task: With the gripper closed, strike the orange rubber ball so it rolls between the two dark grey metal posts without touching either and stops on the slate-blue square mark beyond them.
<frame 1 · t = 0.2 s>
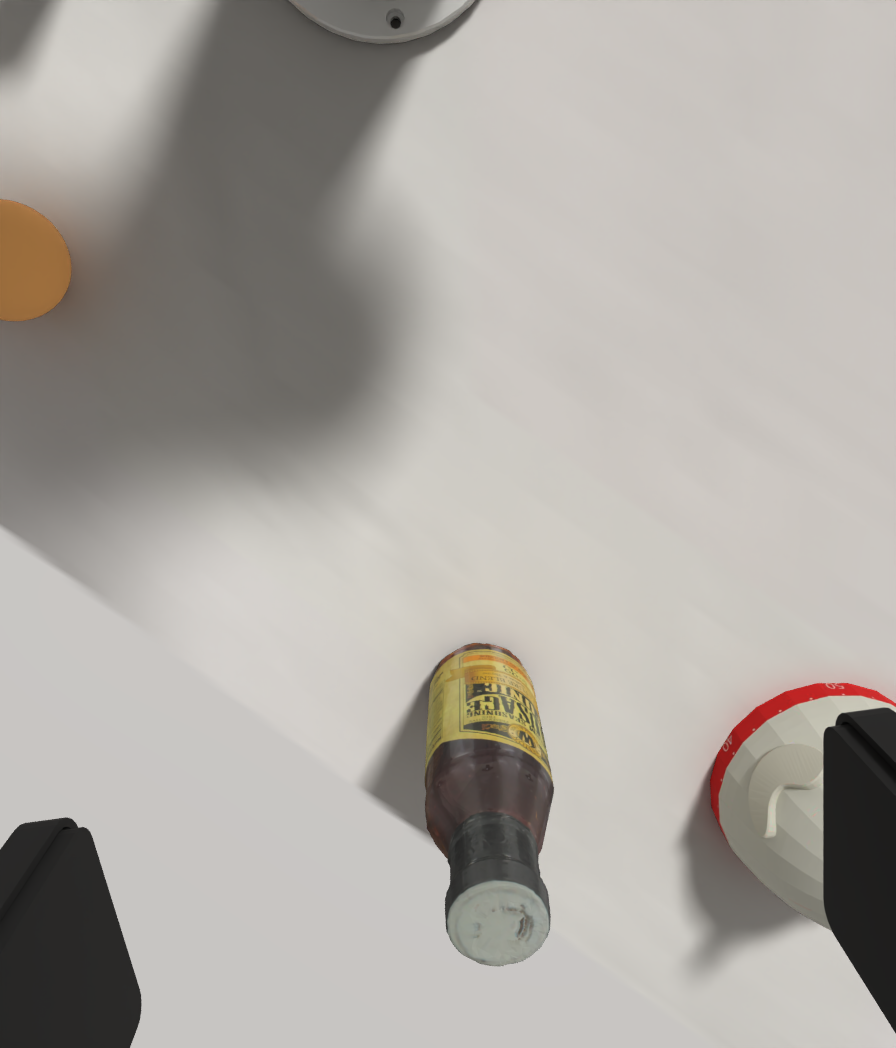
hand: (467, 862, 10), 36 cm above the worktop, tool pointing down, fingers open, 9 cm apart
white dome: (814, 776, 53), on the worktop
sauce bottle: (476, 679, 50), on the worktop
ball: (7, 261, 39), on the worktop
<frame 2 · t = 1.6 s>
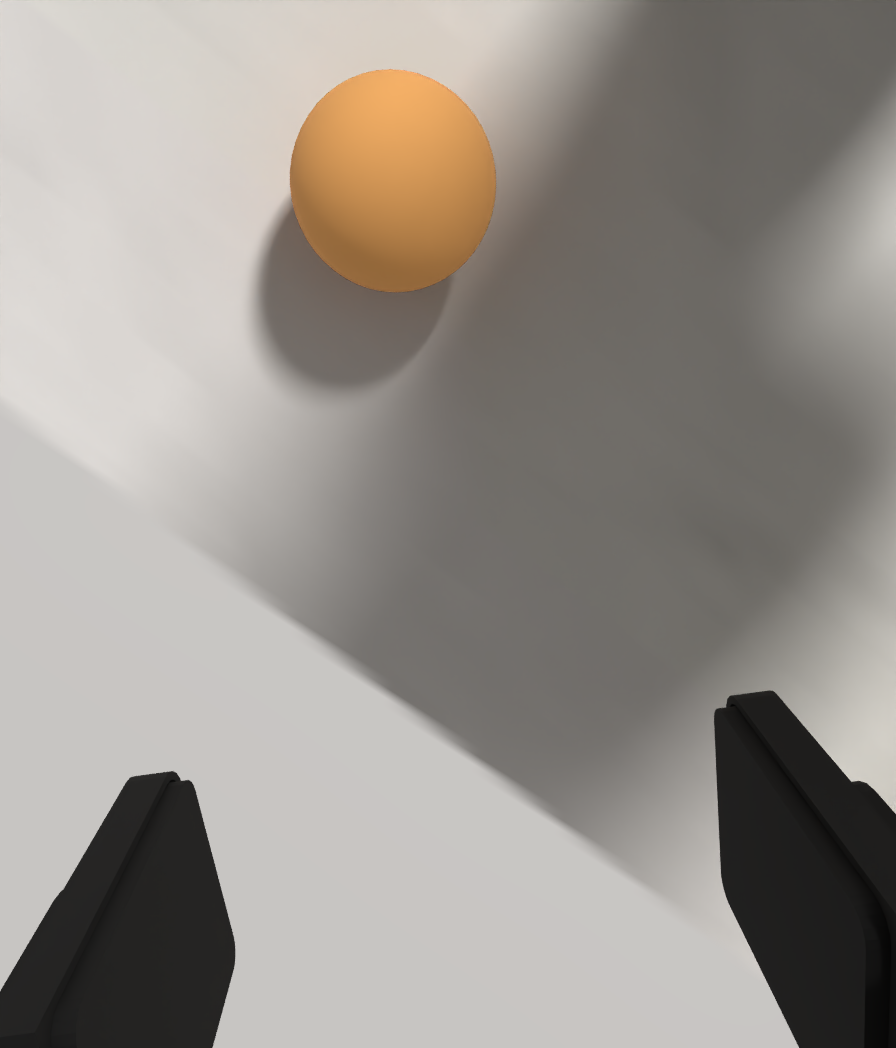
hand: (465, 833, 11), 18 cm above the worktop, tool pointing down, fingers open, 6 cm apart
ball: (393, 186, 22), on the worktop
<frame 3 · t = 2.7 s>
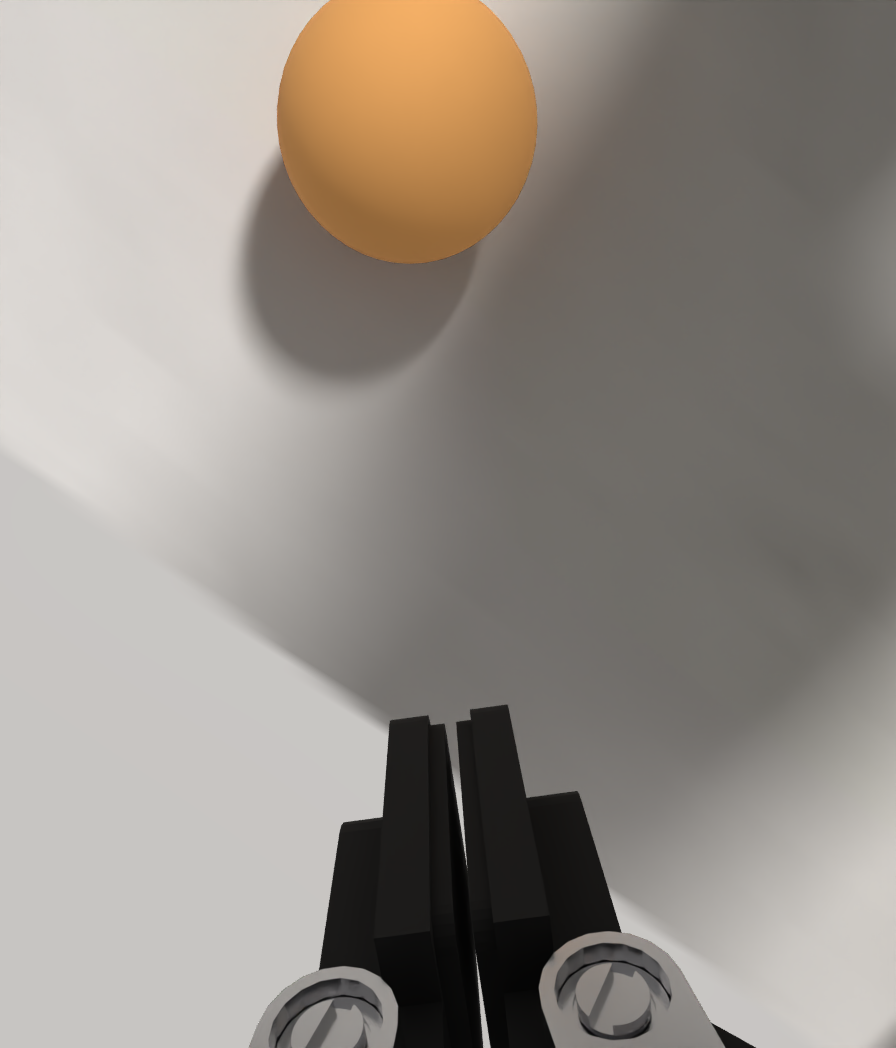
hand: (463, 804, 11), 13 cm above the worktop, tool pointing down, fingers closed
ball: (408, 128, 18), on the worktop
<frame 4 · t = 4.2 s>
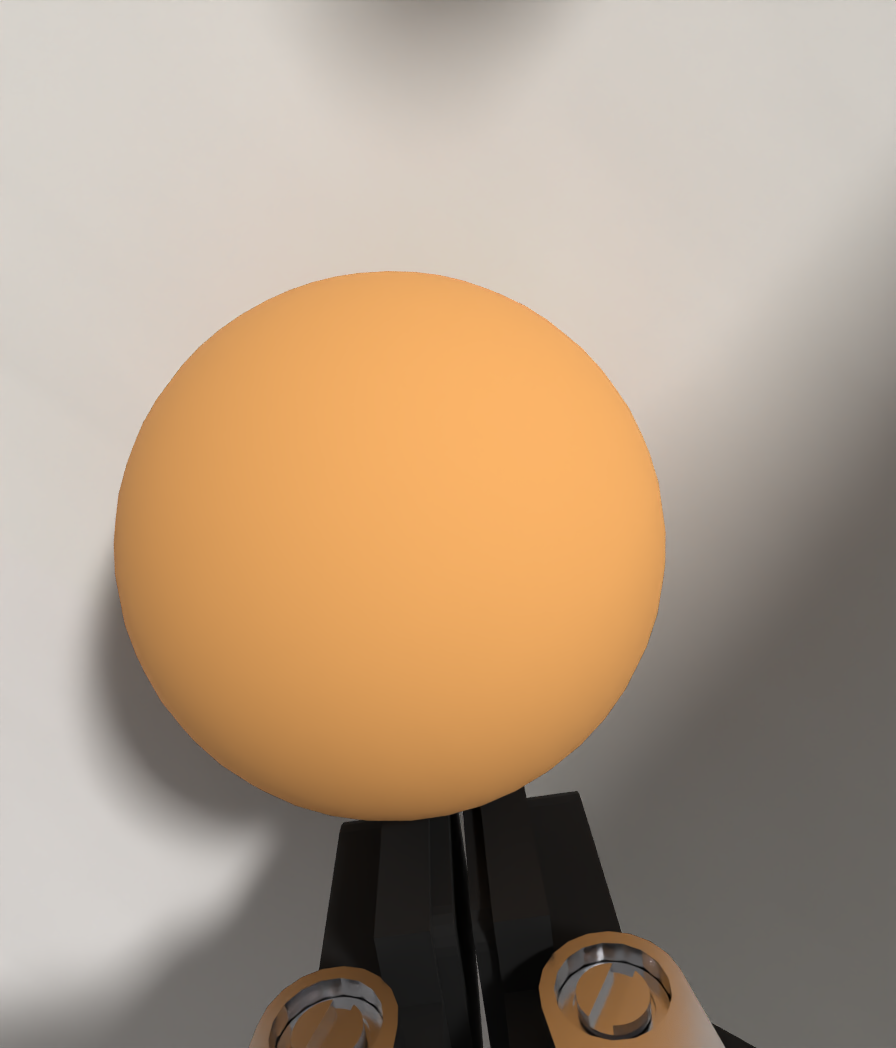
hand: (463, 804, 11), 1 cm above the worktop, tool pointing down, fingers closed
ball: (395, 544, 9), on the worktop
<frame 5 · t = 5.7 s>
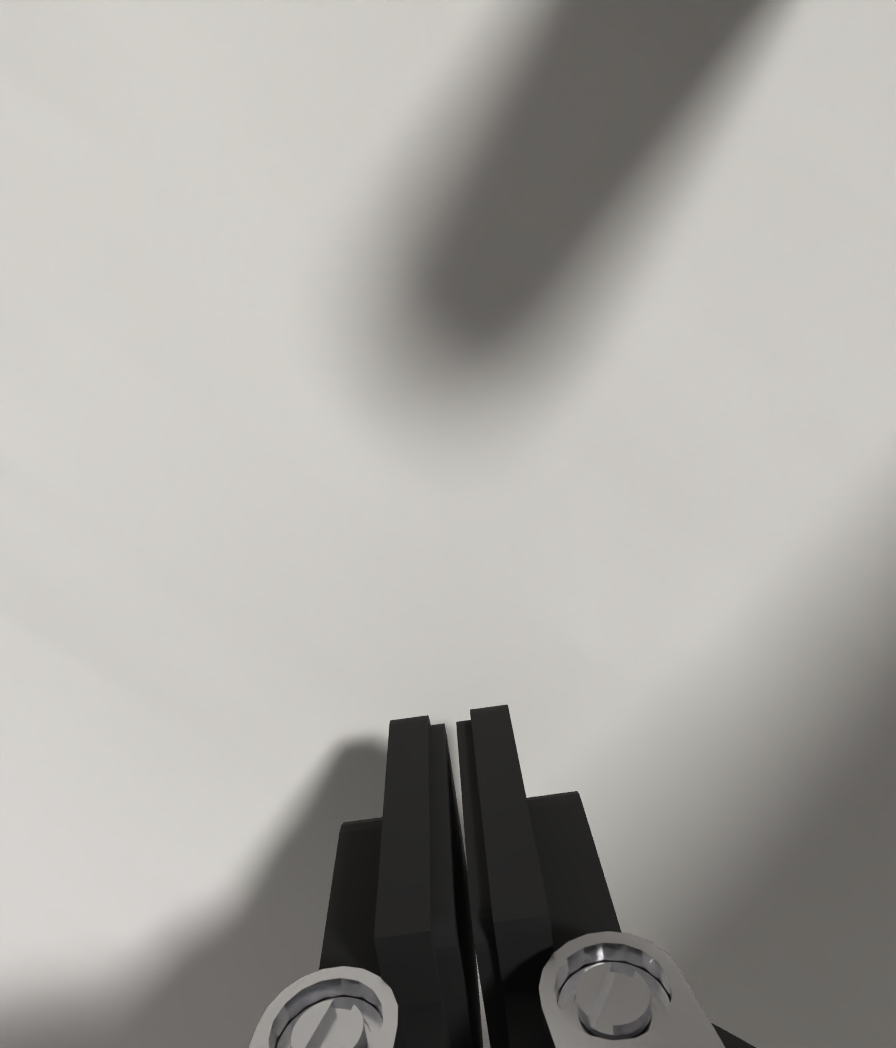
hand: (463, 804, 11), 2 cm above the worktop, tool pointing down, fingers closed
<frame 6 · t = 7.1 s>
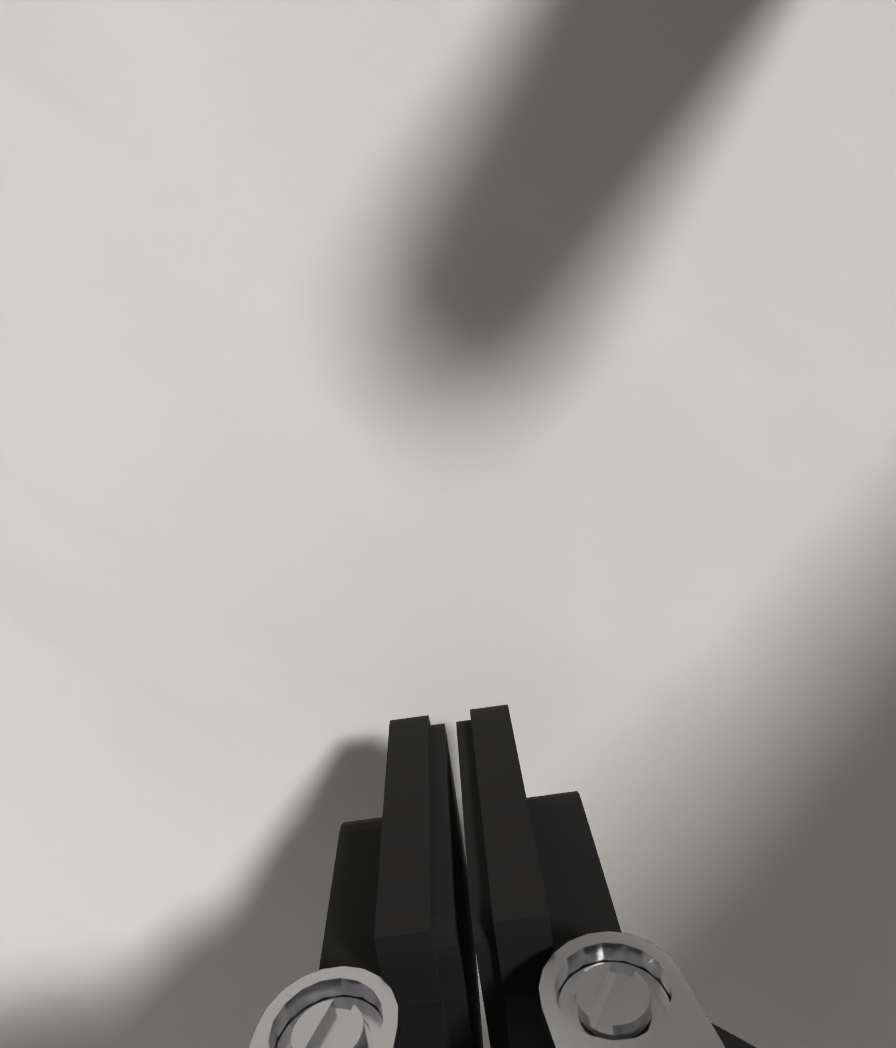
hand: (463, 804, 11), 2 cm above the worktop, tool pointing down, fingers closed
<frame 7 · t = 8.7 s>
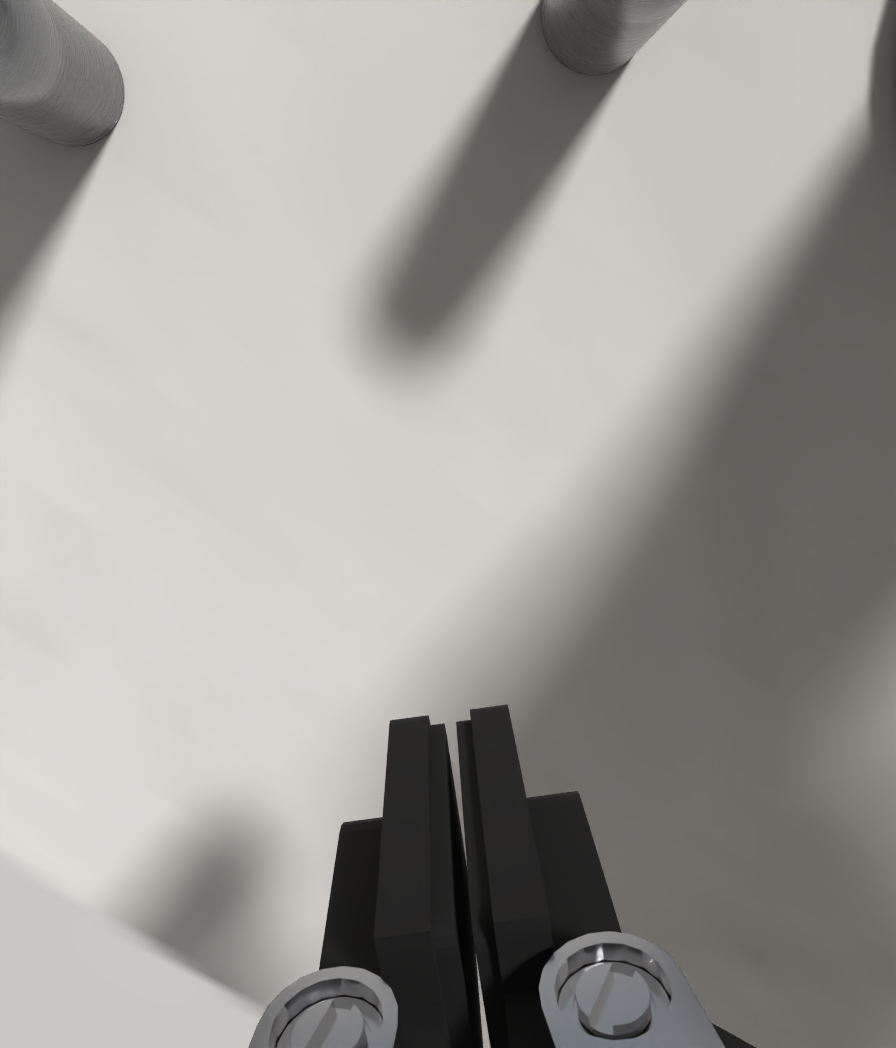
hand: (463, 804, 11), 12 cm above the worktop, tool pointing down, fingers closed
base side post: (595, 15, 20), on the worktop
edge side post: (68, 86, 19), on the worktop
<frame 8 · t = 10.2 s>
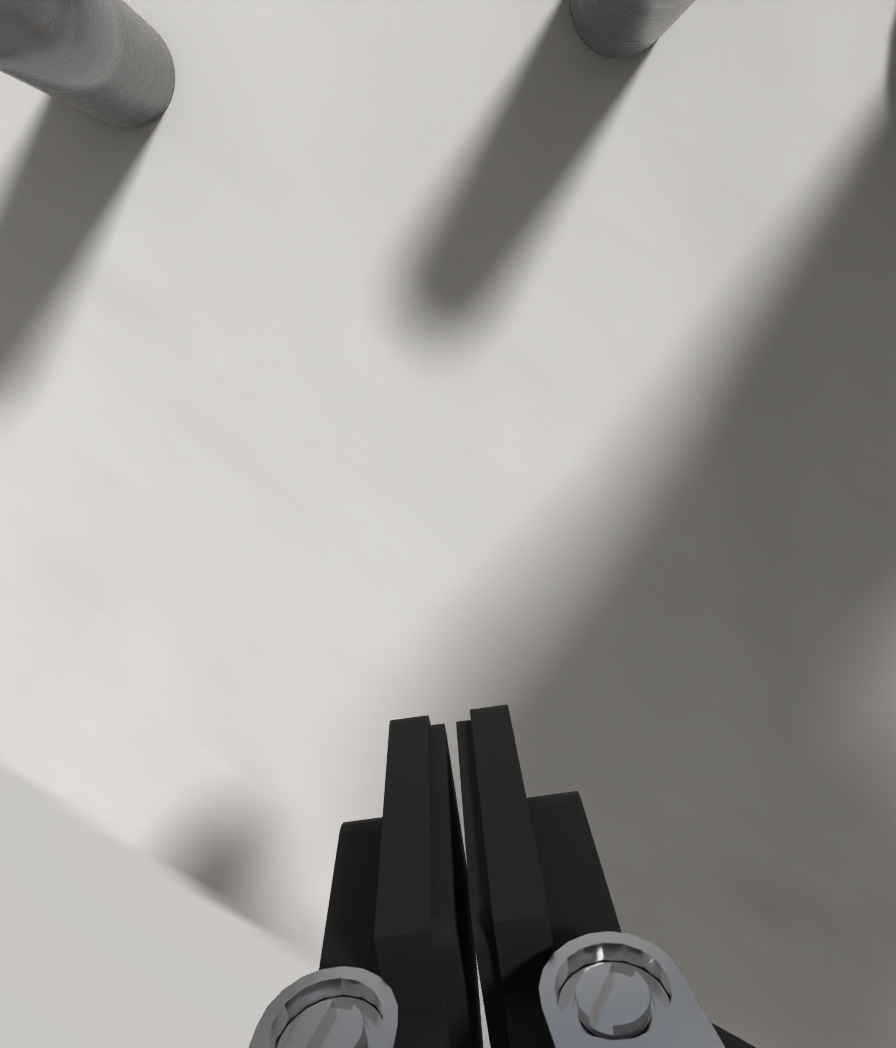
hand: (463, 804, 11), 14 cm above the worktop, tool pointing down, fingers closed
edge side post: (122, 71, 21), on the worktop
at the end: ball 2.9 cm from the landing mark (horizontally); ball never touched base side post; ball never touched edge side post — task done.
